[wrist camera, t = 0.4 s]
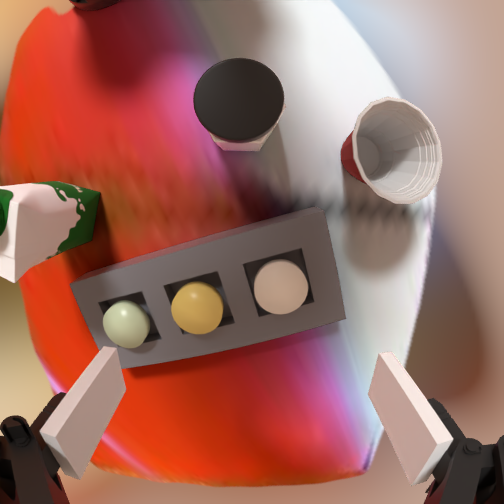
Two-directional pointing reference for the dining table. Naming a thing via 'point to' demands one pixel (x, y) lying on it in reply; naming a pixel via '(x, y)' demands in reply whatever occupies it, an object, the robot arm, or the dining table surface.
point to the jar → (239, 103)
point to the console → (224, 280)
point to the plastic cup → (394, 151)
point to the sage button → (126, 324)
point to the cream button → (280, 286)
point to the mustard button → (197, 308)
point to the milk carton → (42, 223)
